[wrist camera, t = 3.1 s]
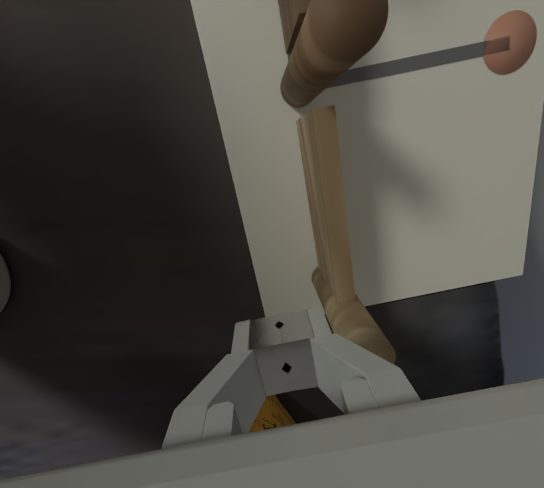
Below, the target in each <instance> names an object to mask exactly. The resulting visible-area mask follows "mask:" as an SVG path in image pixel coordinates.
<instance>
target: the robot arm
mask: <svg viewBox="0 0 544 488" xmlns="http://www.w3.org/2000/svg"><path fill="white" fill-rule="evenodd" d="M313 387H319V389H320V390H321V391H322V392H323V393H324V394H325V395H326V396H327V397H328V398H329V399H330V400H331V401H332V402H333V403H334V404H335V405H336V406H337V407H338V408H339V409H340V410H341V411H343V412H344V415H341V416H336V417H330V418H325V419H320V420H314V421H309V422H304V423H298V424H293V425H288V426H282V427H277V428H272V429H266V430H261V431H256V432H250V433H248V432H249V430H250V428H251V426H252V424H253V422H254V420H255V418H256V416H257V414H258V413H259V411H260V409H261V407H262V405H263V403H264V401H265V399H266V396H271V395H275V394H280V393H284V392H289V391H294V390H301V389H307V388H313ZM0 488H544V378H541V379H536V380H530V381H525V382H519V383H514V384H509V385H503V386H498V387H492V388H487V389H482V390H477V391H472V392H466V393H461V394H456V395H450V396H445V397H439V398H434V399H428V400H423V401H421V399H420V398H419V396H418V395H417V393H416V392H415V390H414V389H413V387H412V386H411V384H410V382H409V381H408V379H407V378H406V376H405V375H404V373H403V372H402V370H401V369H400V368H399V367H397V366H395V365H393V364H392V363H390V362H388V361H386V360H384V359H382V358H381V357H379V356H377V355H375V354H373V353H371V352H370V351H368V350H366V349H364V348H362V347H360V346H359V345H357V344H355V343H353V342H351V341H349V340H348V339H346V338H344V337H342V336H340V335H338V334H332V332H331V330H330V327H329V325H328V322H327V320H326V317H325V315H324V313H323V310H322V308H321V307H320V306H318V307H313V308H309V309H305V310H301V311H296V312H291V313H287V314H282V315H275V316H269V317H263V318H257V319H252V320H246V321H241V322H237V323H236V324H235V329H234V336H233V343H232V350H231V354H227V355H226V356H225V357H224V358H223V359H222V360H221V361H220V362H219V363H218V364H217V365H216V366H215V368H214V369H213V370H212V371H211V372H210V373H209V374H208V375H207V376H206V377H205V378H204V379H203V380H202V381H201V382H200V383H199V384H198V385H197V386H196V388H195V389H194V390H193V391H192V392H191V393H190V394H189V395H188V396H187V397H186V398H185V399H184V400H183V401H182V402H181V403H180V404H179V405H178V407H177V408H176V409H175V410H174V412H173V415H172V418H171V421H170V424H169V427H168V430H167V433H166V436H165V439H164V442H163V445H162V448H161V449H159V450H153V451H148V452H142V453H137V454H131V455H126V456H121V457H115V458H110V459H104V460H99V461H94V462H88V463H83V464H77V465H72V466H66V467H61V468H56V469H50V470H45V471H39V472H34V473H29V474H23V475H18V476H12V477H7V478H1V479H0Z"/></svg>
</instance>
